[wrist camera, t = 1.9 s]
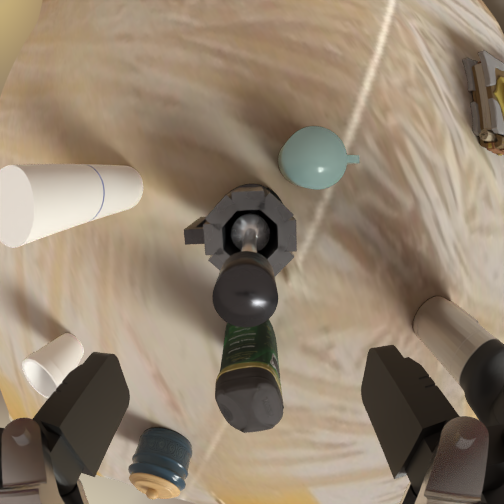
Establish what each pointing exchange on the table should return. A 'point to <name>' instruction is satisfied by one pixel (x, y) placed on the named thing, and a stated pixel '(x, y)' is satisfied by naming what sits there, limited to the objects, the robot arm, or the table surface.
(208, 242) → the faceted grey mug
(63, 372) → the foam cup
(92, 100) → the table surface
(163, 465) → the canister
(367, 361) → the robot arm
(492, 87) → the decorative book
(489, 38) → the table surface
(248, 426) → the coffee jar
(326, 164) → the teal mug
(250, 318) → the plunger
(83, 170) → the cylindrical container
